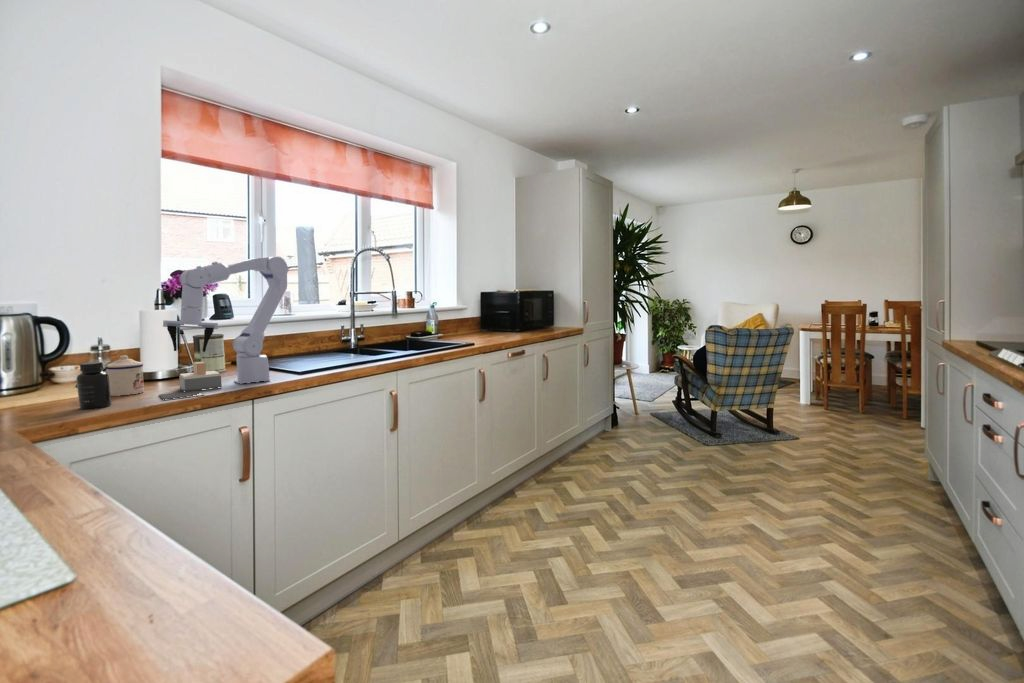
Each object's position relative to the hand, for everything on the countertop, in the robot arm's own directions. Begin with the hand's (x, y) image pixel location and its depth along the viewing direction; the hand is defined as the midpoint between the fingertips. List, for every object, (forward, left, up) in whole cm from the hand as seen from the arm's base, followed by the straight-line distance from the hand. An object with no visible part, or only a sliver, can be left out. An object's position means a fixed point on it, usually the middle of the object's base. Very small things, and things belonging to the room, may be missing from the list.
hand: (189, 351), depth 164 cm
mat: (+5, +9, -12) cm, 16 cm away
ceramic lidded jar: (+16, -8, -12) cm, 22 cm away
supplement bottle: (+25, +10, -12) cm, 29 cm away
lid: (-2, 0, -8) cm, 9 cm away
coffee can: (-13, -38, -12) cm, 42 cm away
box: (-2, 0, -12) cm, 12 cm away
